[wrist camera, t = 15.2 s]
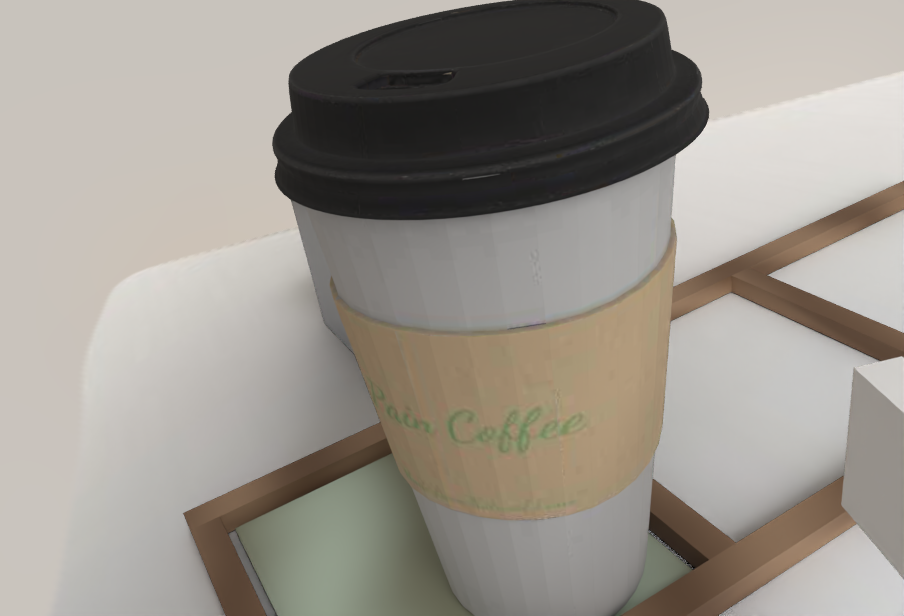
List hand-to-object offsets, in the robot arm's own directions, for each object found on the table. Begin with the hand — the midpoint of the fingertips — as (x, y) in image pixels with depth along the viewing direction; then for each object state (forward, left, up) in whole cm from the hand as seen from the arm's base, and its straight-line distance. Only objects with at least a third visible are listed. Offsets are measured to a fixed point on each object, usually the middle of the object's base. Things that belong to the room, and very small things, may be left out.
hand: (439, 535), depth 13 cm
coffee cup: (-6, -7, -10) cm, 13 cm away
